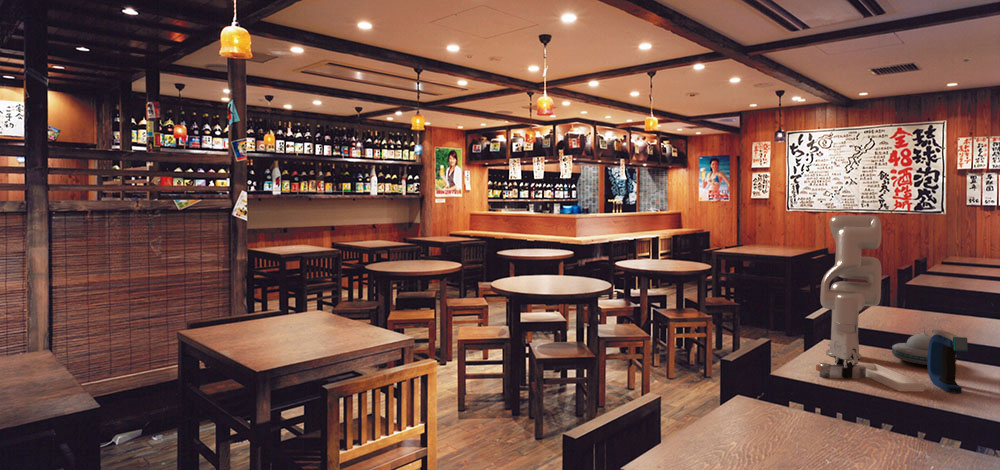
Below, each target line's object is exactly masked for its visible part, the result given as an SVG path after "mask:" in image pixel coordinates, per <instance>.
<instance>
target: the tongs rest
mask: <svg viewBox="0 0 1000 470" xmlns="http://www.w3.org/2000/svg"><path fill="white" fill-rule="evenodd" d="M856 365H862V366H864V367H866V378H869V379H872V380H873V381H875V382H878V383H880V384H882V385H884V386H887V387H889V388H891V389H893V390H895V391H896V392H924V391H925V383H923V382H920V381H918V380H916V379H913V378H912V377H908V376H906V375H904V374H902V373H899V372H896V371H894V370H892V369H890V368H887V367H884V366H882V365H879V364H877V363H858V364H856Z"/></svg>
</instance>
